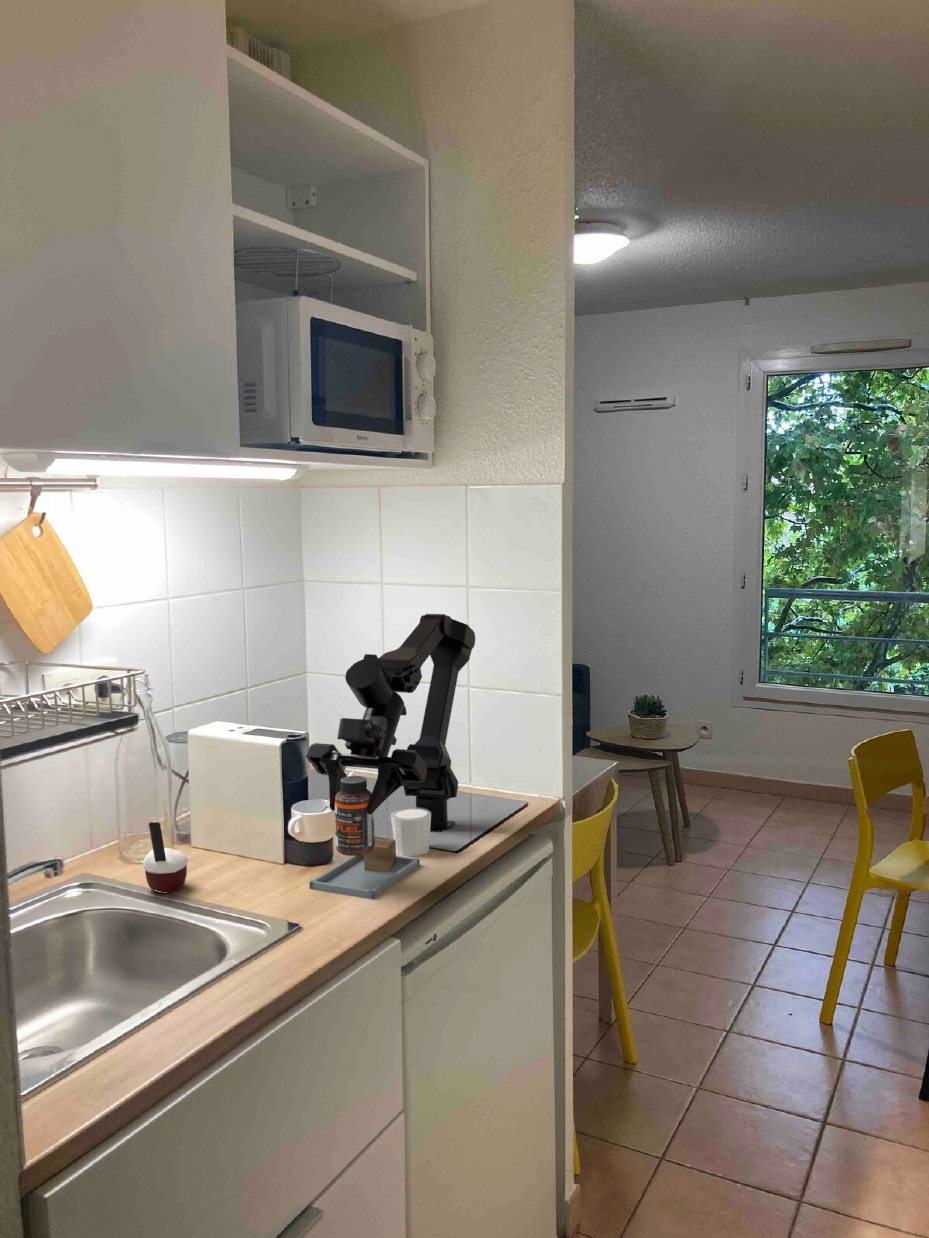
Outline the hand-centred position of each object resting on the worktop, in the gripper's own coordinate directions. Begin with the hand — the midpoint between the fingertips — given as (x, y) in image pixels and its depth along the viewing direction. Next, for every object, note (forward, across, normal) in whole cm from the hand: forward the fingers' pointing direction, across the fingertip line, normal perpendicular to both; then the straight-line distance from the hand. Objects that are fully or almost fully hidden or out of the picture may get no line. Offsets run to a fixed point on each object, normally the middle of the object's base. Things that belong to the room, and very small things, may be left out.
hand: (350, 811), depth 151 cm
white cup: (-3, +2, +21) cm, 22 cm away
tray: (+6, 0, +12) cm, 13 cm away
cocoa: (+15, -28, +2) cm, 32 cm away
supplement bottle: (+4, 0, +6) cm, 7 cm away
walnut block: (+2, 0, +14) cm, 15 cm away
